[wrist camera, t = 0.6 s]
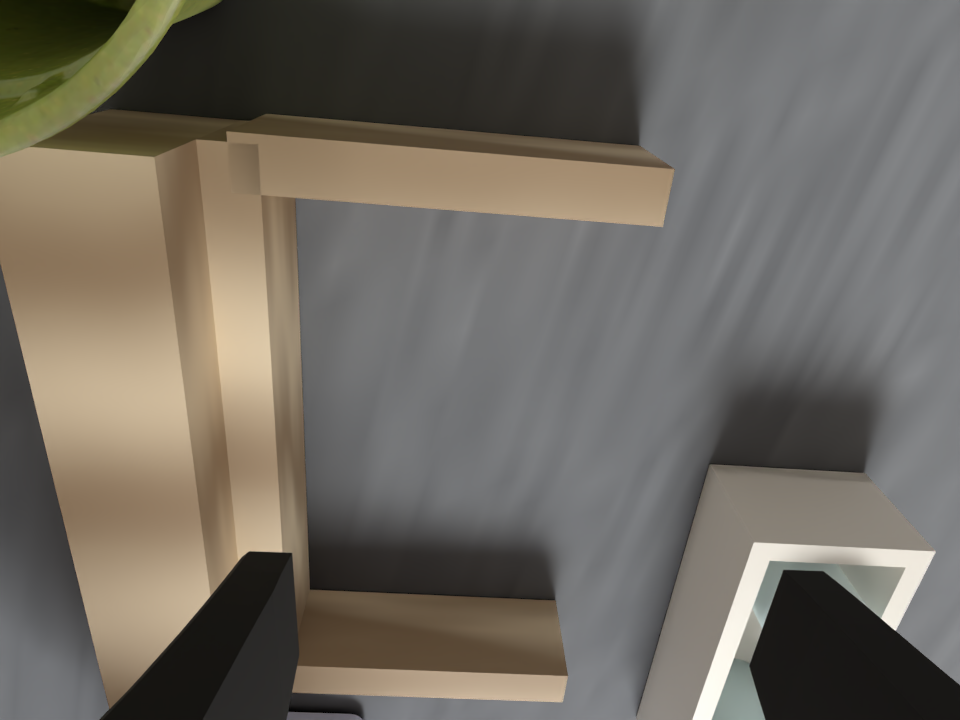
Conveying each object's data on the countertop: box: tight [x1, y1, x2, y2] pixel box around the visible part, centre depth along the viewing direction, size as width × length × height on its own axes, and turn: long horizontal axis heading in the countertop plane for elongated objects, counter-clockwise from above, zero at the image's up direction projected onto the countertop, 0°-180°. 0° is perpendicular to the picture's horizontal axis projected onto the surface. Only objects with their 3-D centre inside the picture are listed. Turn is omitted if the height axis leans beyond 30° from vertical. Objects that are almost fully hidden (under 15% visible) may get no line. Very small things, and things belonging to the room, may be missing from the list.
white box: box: [636, 464, 936, 720], centre depth 21 cm, size 12×5×5 cm, turn 175°
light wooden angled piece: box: [0, 109, 675, 709], centre depth 17 cm, size 16×13×5 cm
